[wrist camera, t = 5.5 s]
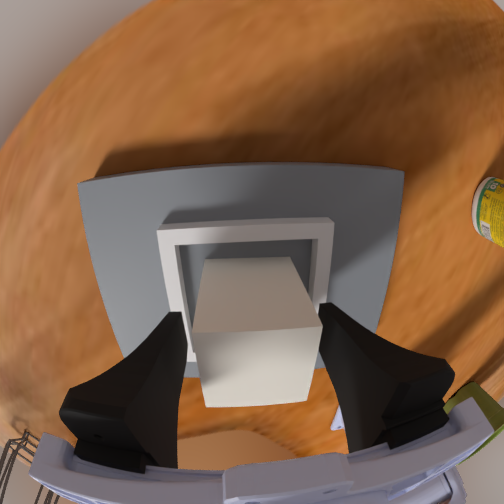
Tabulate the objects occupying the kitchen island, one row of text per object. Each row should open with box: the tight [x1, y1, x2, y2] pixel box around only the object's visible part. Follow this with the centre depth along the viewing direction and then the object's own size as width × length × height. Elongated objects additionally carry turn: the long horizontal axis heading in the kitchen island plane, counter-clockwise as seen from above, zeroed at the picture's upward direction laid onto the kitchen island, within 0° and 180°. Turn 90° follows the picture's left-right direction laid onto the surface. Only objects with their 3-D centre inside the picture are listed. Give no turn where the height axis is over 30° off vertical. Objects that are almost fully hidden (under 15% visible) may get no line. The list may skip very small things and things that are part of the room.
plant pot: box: [443, 382, 504, 465], centre depth 24 cm, size 12×12×11 cm
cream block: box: [192, 257, 323, 407], centre depth 13 cm, size 4×4×6 cm
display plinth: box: [77, 162, 404, 377], centre depth 16 cm, size 18×14×3 cm
